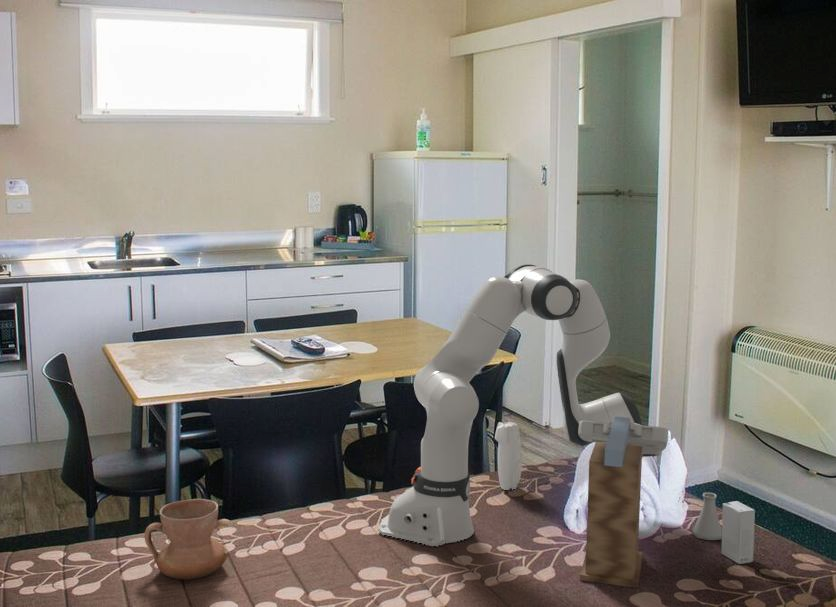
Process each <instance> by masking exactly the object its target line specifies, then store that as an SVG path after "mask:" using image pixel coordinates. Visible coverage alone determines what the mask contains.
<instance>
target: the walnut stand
mask: <svg viewBox="0 0 836 607" xmlns="http://www.w3.org/2000/svg"><path fill="white" fill-rule="evenodd" d="M606 444H607V443H602V442H596V443H595V442H594V446H593V449H592V451H591V454H590V458H589V460H588V483H587V484H588V488H587V510H586V511H587V515H586V516H587V517H586V541H585V542H586V543H585V544H586V545H585V546H586V547H585V554H584V555H585V556H584V559H583V563H582V567H581V571H580V574H579V581H584V582H590V583H591V582H593V583H598V584H607V585H612V586H613V585H614V586H623V587H629V588H634V589H635V588H636V589H639V585H640V584H639V583H640V577H641V571H642V570H641V569H642V564H643V557H644V556H643V554H644V553H643V552H642V551H639V533H640V531H639V529H640V512H641V508H640V507H641V490H642V489H641V487H642V486H641V485H642V467H643V466H642V465H643V464H642V461H643V458H642V446H635V445H627V447H626V451H625V456H624V460H623V464H622V467H615V466H605V465H604V461H605V447H606Z"/></svg>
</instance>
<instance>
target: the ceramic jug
mask: <svg viewBox="0 0 836 607" xmlns="http://www.w3.org/2000/svg"><path fill="white" fill-rule="evenodd" d="M158 513H159V517H160V522H152V523H150V524H149V525H148V526H146V528H145V530H144V542H145V544H146V547H147V548H148V550H149V551H150V553H151V554H152V556H153V560H154V562H155V564H156V566H157V568H158V570H159V571H160V572H161V573H162V574H163V575H165V576H167V577H169V578H173V579H177V580H195V579H200V578H204V577H207V576H209V575H212V574H213V573H215V572H216V571H218V570H219V569H220V568H222V566H223V565H224V563H225V562H226V561H227V559H228V557H229V555H230V554H229V553H230V552H229V550H228V548H227V549H226V547H225V546H224V545H223V544H222V543H221V542H220V541H218V540H216V539H214V538H212V535H213V533H214V531H215V530H216V529H217V528H219V527H222V526H223V527H227V528H228V527H229V524H230V522H231V521H230V520H229V519H228V518H227V519H226V518H222V519H218V516H219V505H218V503H217V502H216V501H214V500H211V499H206V498H193V499H185V500H177V501H174V502H171V503H170V502H169V503H168V504H165V505H163V506H162V507H161V508H160V509H159V512H158ZM153 531H157V532H160V533H162V534H163V535H166V536H167V538H168V541H169V544H167V545H166V546H165V547H164V548H162V549H161V550H160V551H159V552H158V551H157V549H156V547H155V545H154V543H153V539H152V533H153Z"/></svg>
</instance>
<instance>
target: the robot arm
mask: <svg viewBox="0 0 836 607" xmlns="http://www.w3.org/2000/svg"><path fill="white" fill-rule="evenodd" d="M600 300H601V299H599V296H598V294H597V292H596V290H595V289H594V287H593V285H592V283H590V282H589V281H587V280H584V279H579V278H578V279H577V278H576V279H575V278H574V279H570V280H569V279H567V278H566V277H564V276H562V275H560V274H557V273H555V272H553V271H552V270H550V269H548V268H545V267H541V266H537V265H534V264H521V265H517V266H516V267H514V268H512V270H510V271H509V272H508V273H507V274H506V275H504V276H499V275H498V276H491V277H490V278H488V279H487V280H486V281H485V282H484V283H483V284H482V285H481V287H480V288H479V289H478V290H477V292H476V293H475V295H473V297H472V299H471V300H470V302H469V304H468V305H467V307H466V308H465V310H464V311H463V313H462V315H461V317H460V319H459V320H458V322H457V324H456V326H455V327H454V329H453V331H452V332H451V334H450V336H449V338H448V339H447V340H446V342H445V343H444V344H443V345H442V346H441V348H440V349H439V350H438V351H437V353H436V354H435V355H434V356H433V357H432V359H430V361H429V362H428V363H427V364H426V365H424V366H423V367H422V368H420V369H419V370H418V371H417V372H416V374H415V376H414V378H413V388H414V394H415V396H416V399H417V400H418V402H419V403H420V404H421V405H422V406H423V408H424V409H425V411H426V425H425V431H424V435H423V437H422V438H421V442H420V466H419V467H418V468H417V469H416V470H415V472H414V474H413V476H412V477H411V485H412V487H410V488H409V489H407V490H405V491H404V492H403V493H402V494H400V495H398V496H397V497H396V498H395V499H394V501H393V502H392V504H391V505H390V508H389V512H388V514H387V515H386V516H385V517H384V518H383V519H382V520H381V522H380V523H379V527H378V531H379V532H380V533H381V534H382V535H381V534H380V533H379V532H378V533H379V534H380V535H381V536H384V535H387V536H386V537H388V536H392V537H391V538H393V537H396V538H395V539H397V538H401V539H400V540H402V539H406V540H410V541H414V542H413V543H415V542H417V543H416V544H419V543H422V544H421V545H424V544H425V545H426V546H429V547H433V546H436V547H440V546H443V545H446V544H451V543H458V542H461V541H460V540H462V541H464V539H465V540H466V539H469V538H471V537H472V536H473V535H474V533H475V530H474V529H475V528H474V526H473V522H472V517H471V513H470V512H471V511H470V504H469V503H470V502H469V498H470V494H471V479H470V473H469V465H468V464H469V443H470V442H469V440H470V435H471V430H472V426H473V423H474V422H473V421H474V420H475V418H476V416H477V414H478V411H479V407H480V403H479V402H480V401H479V398H478V396H477V393H476V390H475V388H474V387H473V386H472V385H471V383H470V382H471V381H472V379H473V378H474V377H475V376H476V375H477V374H478V372H480V371H481V370H482V369H483V368H484V367H486V366H487V365H489V364H490V363H491V362H492V360H493V359H494V356H495V355H496V353H497V352H498V350H499V348H500V346H501V344H502V343H503V341H504V339H505V338H506V336H507V334H508V332H509V330H510V329H511V326H512V324H513V323H514V321H515V319H517V317H518V316H520V315H521V314H522V313H523V312H527V313H528V314H530V315H532V316H535V317H539V318H541V319H543V320H547V321H558V322H559V326H560V329H561V332H562V336H563V338H562V339H563V340H562V345H561V348H560V349H559V350H558V351H557V352H556V368H557V378H558V385H559V392H560V398H561V403H562V404H561V405H562V412H563V415H562V425H563V430H564V433H565V435H566V437H567V439H568V440H569V442H570V443H573V444H575V445H578V446H579V447H585V446H587V445H589V444H593V443H594V444H595V443H596V442H602V443H607V441H608V437H609V434H610V431H611V427H612V424H613V421H614V417H625V418H630V427H629V432H630V434H629V438H628V443H627V445H635V446H642V459H643V458H645V457H648V458H649V457H660V456H661V455H662V452H663V451H664V450H665V449H666V448H667V446H668V441H669V440H668V438H669V428H668V427H665V426H656V425H655V426H654V425H653V426H651V425H644V424H643V423H642V419H641V415H640V413H639V410H638V407H637V405H636V403H635V402H634V401H633V399H632V398H631V397H630V396H628V395H626V394H625V393H623V392H616V393H612V394H609V395H605V396H603V397H600V398H597V399H595V400H592V401H589V402H585V403H579V400H578V392H577V384H576V383H577V378H578V376H579V374H580V373H581V372H582V370H584V369H585V368H586V367H587V366H588V365H590V364H591V363H592V362H594V361H595V360H597V359H598V358H599V357H600V356H601V355H602V354H603V353H604V351H605V350H606V349H607V347H608V345H609V343H610V339H611V330H610V326H609V322H608V318H607V315H606V312H605V309H604V308H603V304H602V303H601V301H600ZM406 540H405V541H406ZM410 541H409V542H410ZM457 541H458V542H457ZM445 543H446V544H445ZM425 545H424V546H425ZM439 545H440V546H439Z"/></svg>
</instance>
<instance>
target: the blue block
mask: <svg viewBox="0 0 836 607" xmlns="http://www.w3.org/2000/svg"><path fill="white" fill-rule="evenodd" d="M629 427H630V418H625V417H614V421H613V424H612V427H611V431H610V434H609V437H608V441H607V444H606V447H605V461H604V465H605V466H615V467H622V464H623V460H624V456H625V451H626V447H627V443H628V438H629V434H630V432H629Z"/></svg>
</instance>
